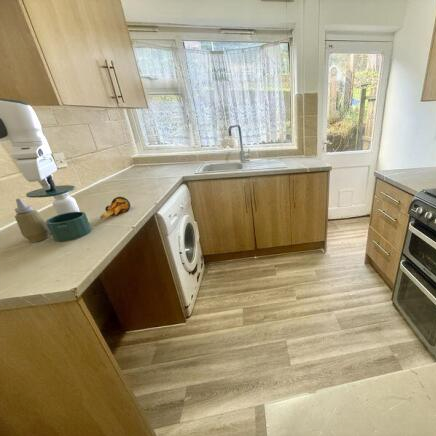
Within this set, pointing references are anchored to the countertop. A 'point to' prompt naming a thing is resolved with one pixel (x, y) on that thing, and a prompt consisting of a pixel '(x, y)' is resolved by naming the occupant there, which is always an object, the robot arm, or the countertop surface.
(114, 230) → the countertop surface
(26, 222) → the squeeze bottle
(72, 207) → the pill bottle
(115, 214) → the chicken drumstick
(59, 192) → the pot lid
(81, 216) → the pot
